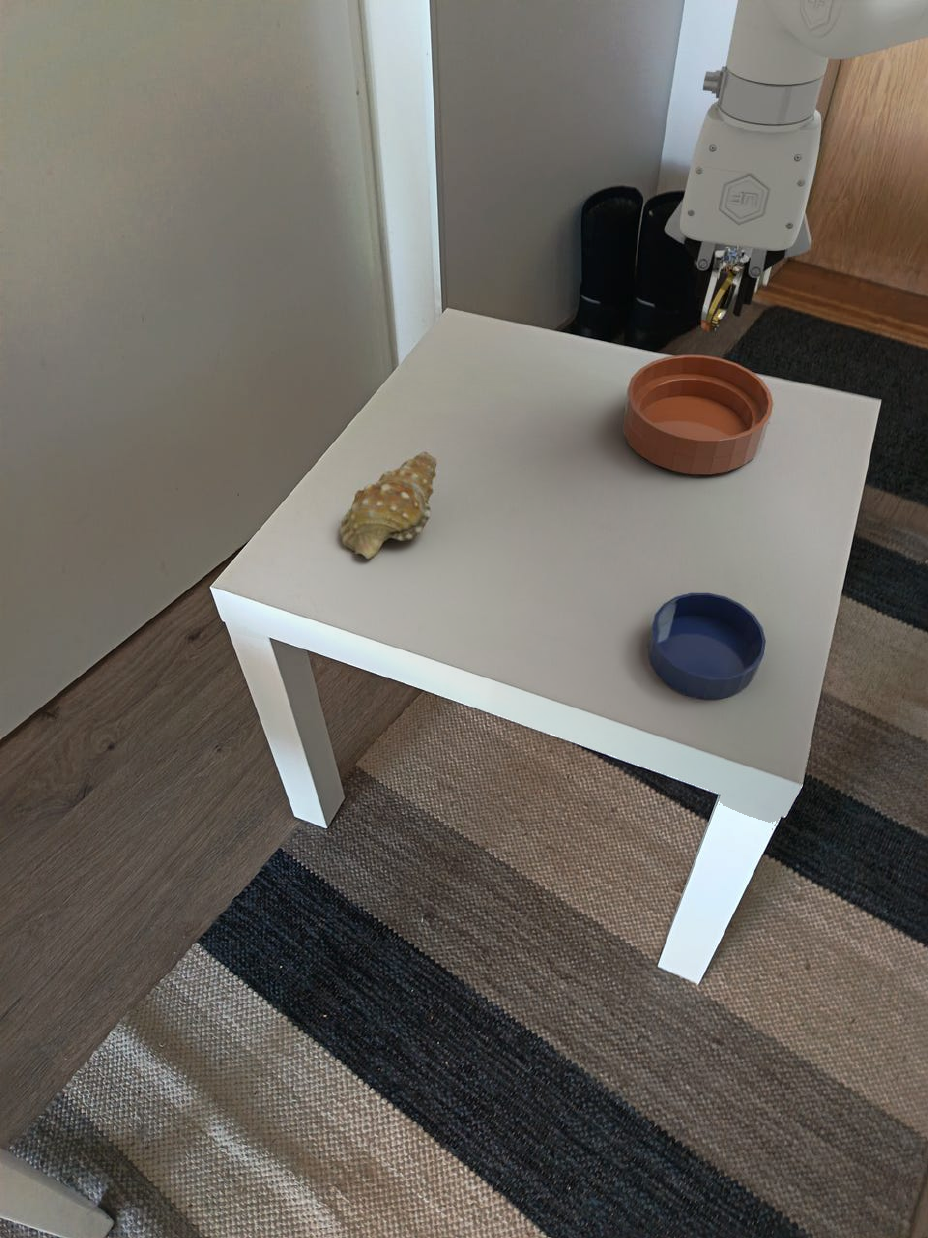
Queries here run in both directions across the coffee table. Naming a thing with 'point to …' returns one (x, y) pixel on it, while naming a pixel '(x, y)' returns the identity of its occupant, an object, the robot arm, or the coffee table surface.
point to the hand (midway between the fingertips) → (721, 304)
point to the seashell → (390, 507)
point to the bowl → (696, 414)
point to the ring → (728, 289)
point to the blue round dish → (705, 645)
